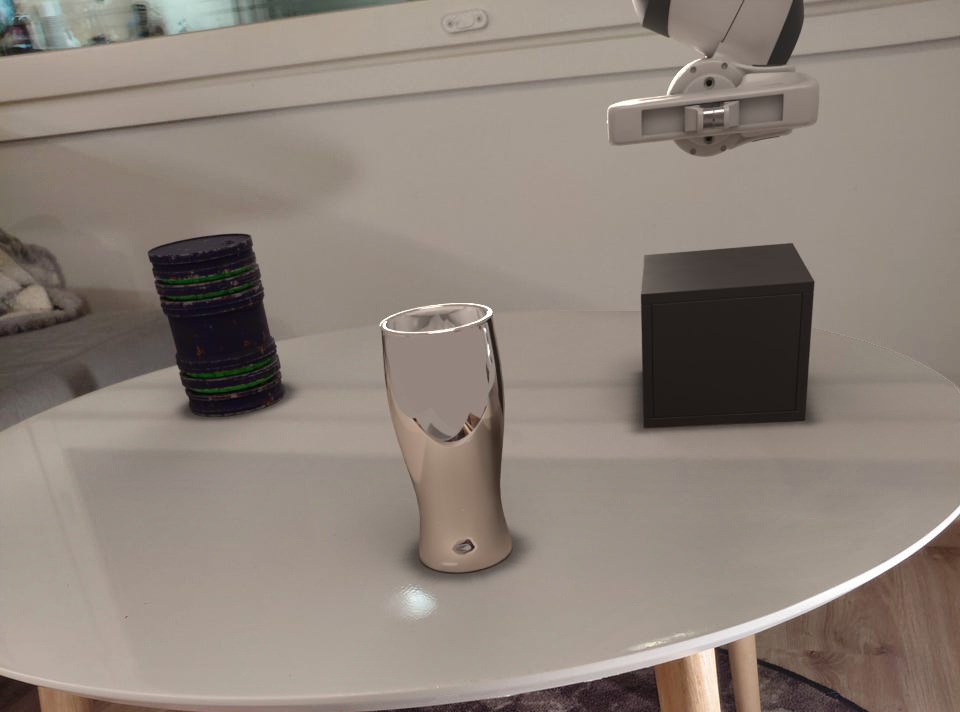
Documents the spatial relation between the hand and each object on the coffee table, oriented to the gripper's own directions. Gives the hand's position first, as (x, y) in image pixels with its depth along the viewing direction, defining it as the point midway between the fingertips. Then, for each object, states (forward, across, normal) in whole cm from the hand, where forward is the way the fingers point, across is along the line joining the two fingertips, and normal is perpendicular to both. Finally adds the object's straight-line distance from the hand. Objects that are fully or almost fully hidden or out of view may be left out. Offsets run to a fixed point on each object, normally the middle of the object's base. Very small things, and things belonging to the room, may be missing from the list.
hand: (713, 119), depth 90 cm
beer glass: (+49, -18, +20) cm, 55 cm away
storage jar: (+14, -47, +20) cm, 53 cm away
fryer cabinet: (+20, 0, +20) cm, 28 cm away
